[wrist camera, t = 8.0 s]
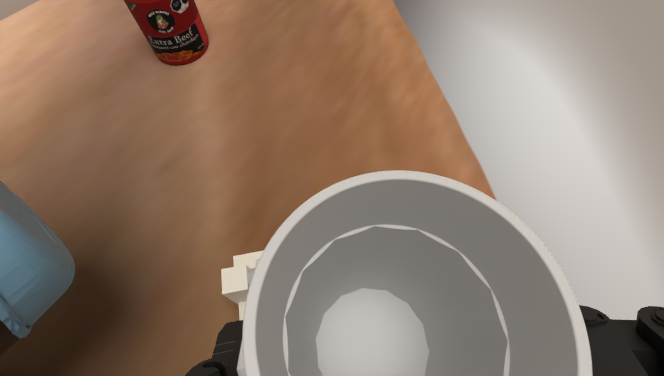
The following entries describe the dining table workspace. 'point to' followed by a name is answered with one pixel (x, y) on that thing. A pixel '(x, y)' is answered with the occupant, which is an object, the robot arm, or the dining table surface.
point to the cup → (410, 288)
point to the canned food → (171, 28)
